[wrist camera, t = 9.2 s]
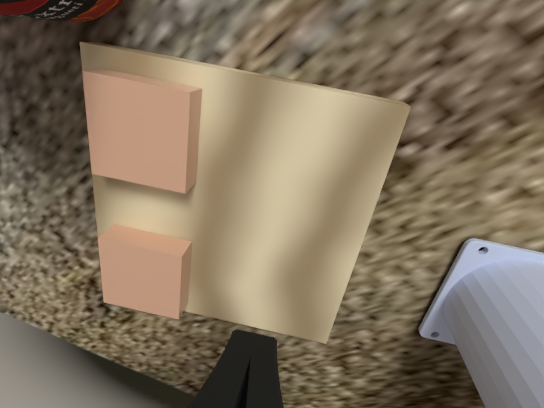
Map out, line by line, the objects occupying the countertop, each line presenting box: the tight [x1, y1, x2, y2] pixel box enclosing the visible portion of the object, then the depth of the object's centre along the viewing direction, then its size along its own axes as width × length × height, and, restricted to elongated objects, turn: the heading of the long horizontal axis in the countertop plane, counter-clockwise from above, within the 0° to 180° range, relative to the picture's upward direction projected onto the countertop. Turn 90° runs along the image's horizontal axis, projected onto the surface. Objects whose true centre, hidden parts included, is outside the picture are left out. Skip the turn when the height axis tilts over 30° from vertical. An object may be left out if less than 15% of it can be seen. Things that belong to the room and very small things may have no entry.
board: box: [80, 42, 411, 344], centre depth 19 cm, size 16×16×2 cm
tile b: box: [98, 224, 192, 320], centre depth 20 cm, size 2×5×5 cm
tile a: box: [82, 69, 202, 193], centre depth 16 cm, size 2×5×5 cm
